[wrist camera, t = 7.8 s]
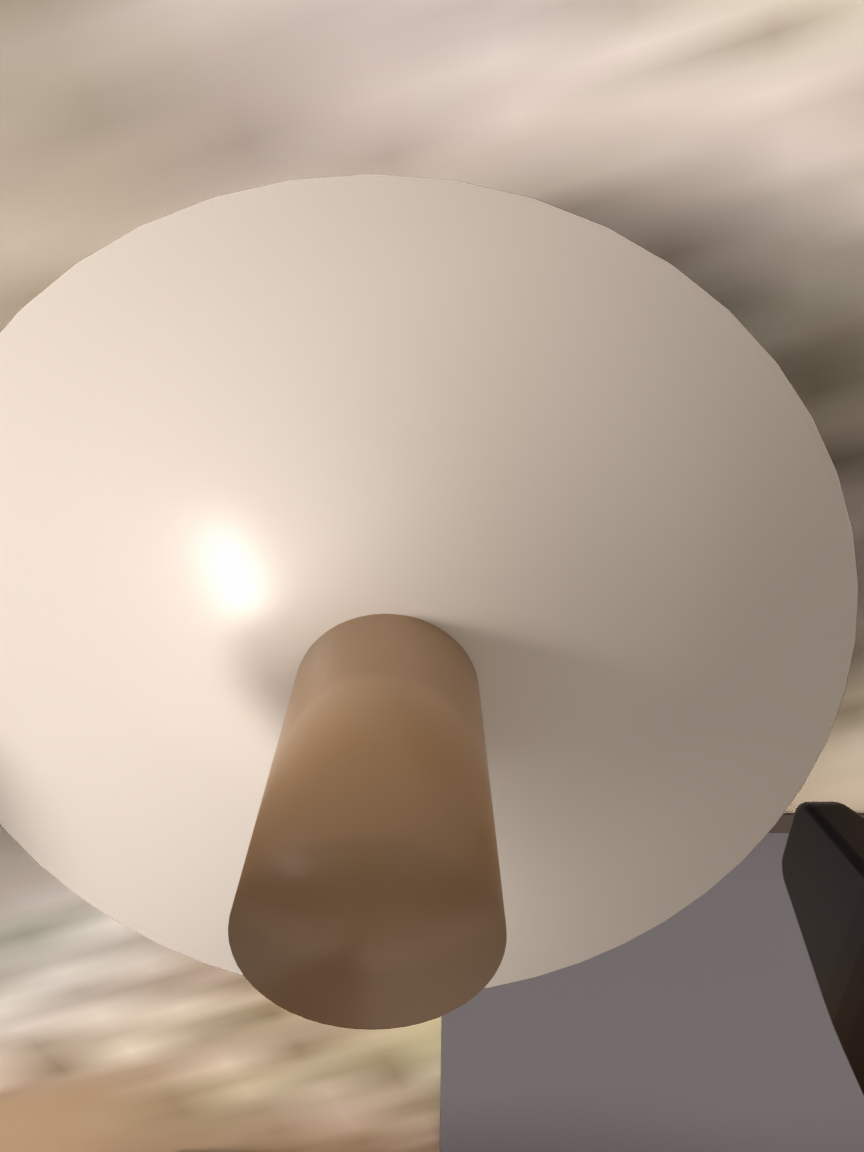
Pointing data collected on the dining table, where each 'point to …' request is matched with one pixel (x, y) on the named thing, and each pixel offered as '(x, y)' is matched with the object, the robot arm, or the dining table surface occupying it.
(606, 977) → the mat
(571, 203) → the dining table surface
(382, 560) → the lid
